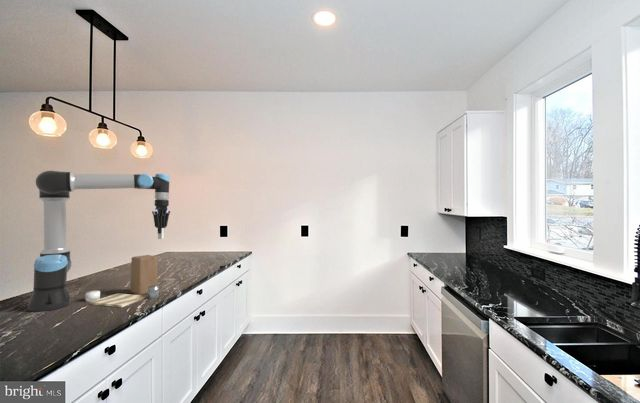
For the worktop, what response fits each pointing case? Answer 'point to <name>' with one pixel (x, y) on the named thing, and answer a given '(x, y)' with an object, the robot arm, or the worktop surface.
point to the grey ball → (153, 292)
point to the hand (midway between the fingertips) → (160, 238)
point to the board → (118, 300)
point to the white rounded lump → (92, 296)
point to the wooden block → (143, 273)
